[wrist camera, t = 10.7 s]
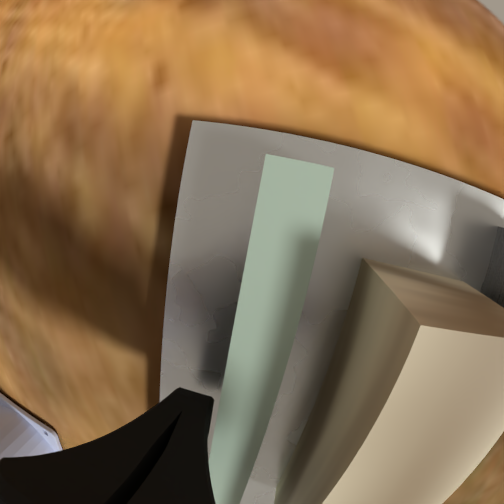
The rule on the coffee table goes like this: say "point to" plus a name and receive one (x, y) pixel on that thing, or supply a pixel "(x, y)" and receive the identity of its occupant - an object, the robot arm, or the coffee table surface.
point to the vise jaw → (267, 314)
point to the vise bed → (324, 269)
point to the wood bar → (403, 394)
